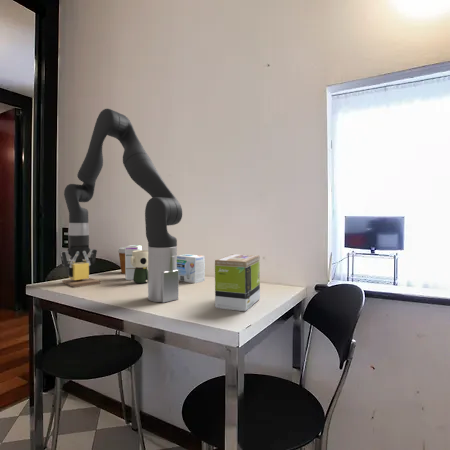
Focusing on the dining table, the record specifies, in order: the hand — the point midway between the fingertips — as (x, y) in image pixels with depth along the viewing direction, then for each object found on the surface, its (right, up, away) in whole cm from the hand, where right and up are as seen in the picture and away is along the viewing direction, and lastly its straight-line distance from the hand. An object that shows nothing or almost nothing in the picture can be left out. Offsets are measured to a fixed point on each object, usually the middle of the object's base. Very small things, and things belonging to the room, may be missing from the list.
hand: (79, 275), depth 125 cm
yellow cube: (0, -1, 0) cm, 1 cm away
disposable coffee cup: (+12, -3, +24) cm, 27 cm away
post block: (+1, -3, 0) cm, 3 cm away
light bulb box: (+44, -3, +7) cm, 45 cm away
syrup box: (+19, -3, +9) cm, 22 cm away
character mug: (+25, -3, +2) cm, 25 cm away
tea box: (+63, -4, -28) cm, 69 cm away
